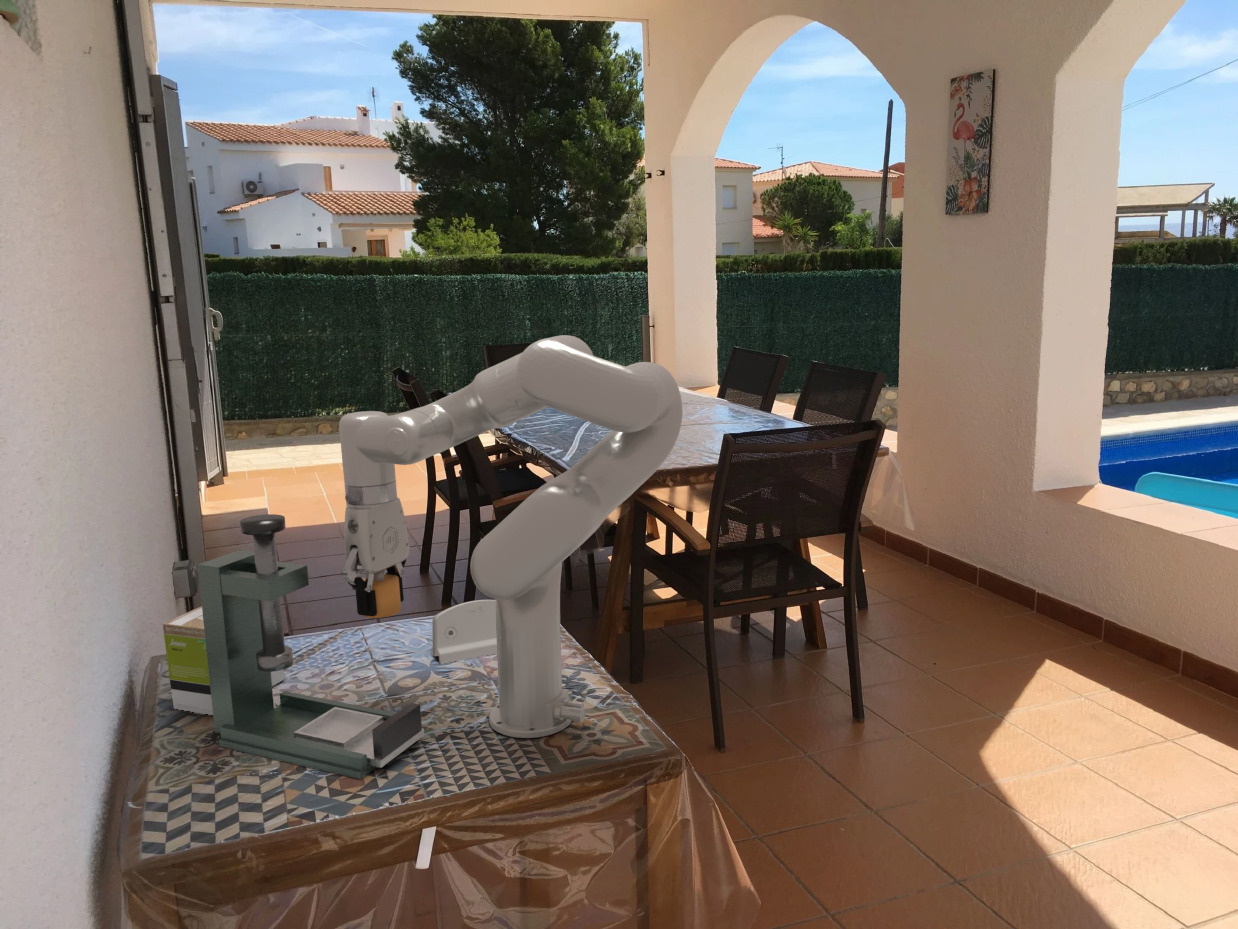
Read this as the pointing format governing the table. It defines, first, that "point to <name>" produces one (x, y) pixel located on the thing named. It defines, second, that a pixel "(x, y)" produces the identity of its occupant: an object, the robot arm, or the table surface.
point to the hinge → (465, 631)
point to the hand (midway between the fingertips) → (381, 606)
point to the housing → (386, 594)
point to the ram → (266, 563)
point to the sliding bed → (366, 732)
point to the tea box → (192, 663)
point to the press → (248, 690)
